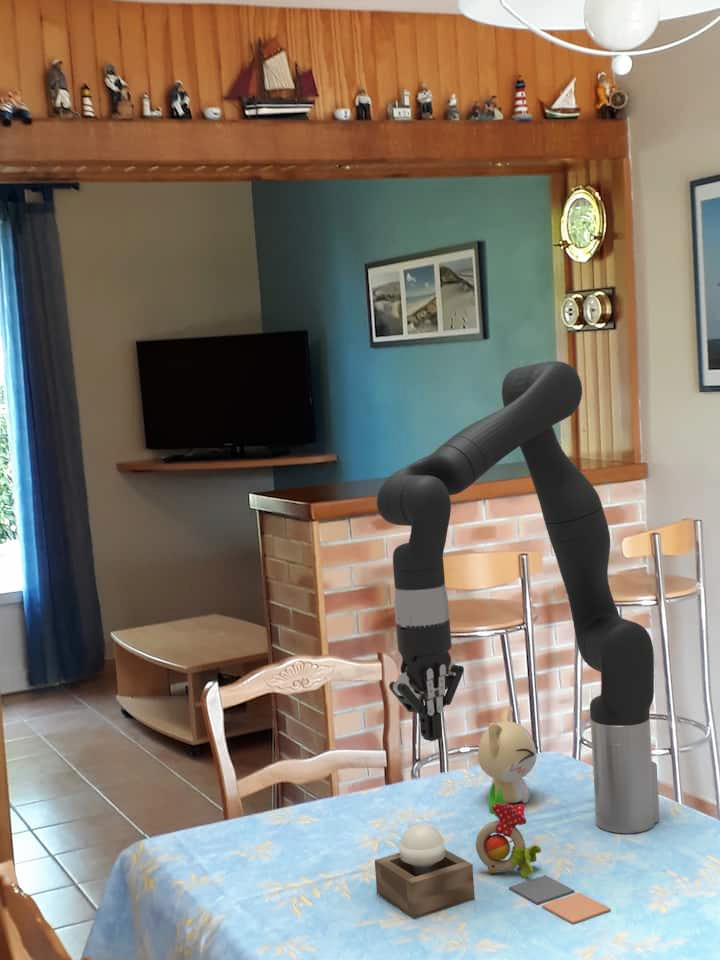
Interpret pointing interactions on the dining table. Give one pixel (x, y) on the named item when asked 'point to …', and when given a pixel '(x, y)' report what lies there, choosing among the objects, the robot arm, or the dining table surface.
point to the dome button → (422, 848)
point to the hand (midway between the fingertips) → (431, 739)
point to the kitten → (507, 760)
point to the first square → (541, 889)
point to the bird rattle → (506, 841)
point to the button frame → (424, 884)
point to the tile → (576, 908)
